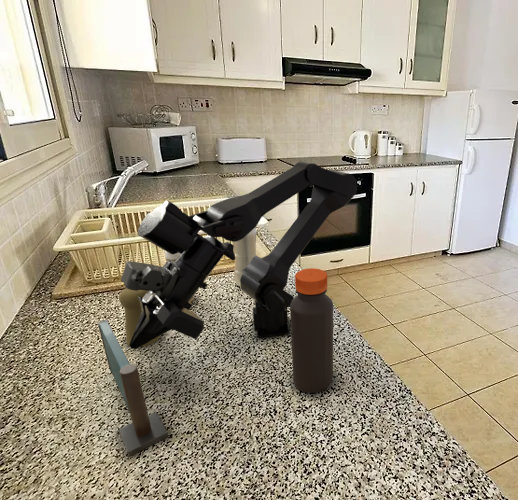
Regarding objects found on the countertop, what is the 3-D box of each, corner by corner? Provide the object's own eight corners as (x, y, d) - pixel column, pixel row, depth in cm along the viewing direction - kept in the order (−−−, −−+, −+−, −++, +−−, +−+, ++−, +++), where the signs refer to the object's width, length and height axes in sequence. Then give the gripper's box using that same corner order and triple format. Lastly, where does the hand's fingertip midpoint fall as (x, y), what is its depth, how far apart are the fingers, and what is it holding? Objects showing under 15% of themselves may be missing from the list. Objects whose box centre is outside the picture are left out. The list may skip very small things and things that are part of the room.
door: (118, 366, 65) (107, 319, 61) (145, 421, 54) (133, 367, 50) (109, 369, 64) (97, 322, 60) (134, 426, 53) (121, 372, 49)
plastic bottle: (238, 292, 93) (230, 215, 86) (232, 281, 98) (225, 208, 91) (263, 287, 96) (258, 212, 88) (256, 277, 101) (251, 205, 94)
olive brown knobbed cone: (146, 349, 71) (135, 298, 67) (118, 344, 72) (106, 294, 68) (167, 331, 76) (158, 283, 72) (141, 327, 78) (131, 280, 74)
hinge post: (157, 415, 56) (143, 352, 52) (168, 436, 53) (154, 370, 48) (119, 433, 53) (102, 367, 49) (128, 457, 49) (110, 387, 45)
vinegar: (288, 372, 66) (283, 269, 58) (325, 363, 68) (324, 263, 61) (299, 399, 60) (295, 287, 53) (338, 387, 62) (340, 280, 55)
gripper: (134, 228, 64) (71, 305, 61) (171, 261, 51) (94, 360, 48) (187, 259, 72) (134, 329, 69) (230, 295, 59) (167, 382, 56)
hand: (132, 347), depth 60 cm, fingers closed
